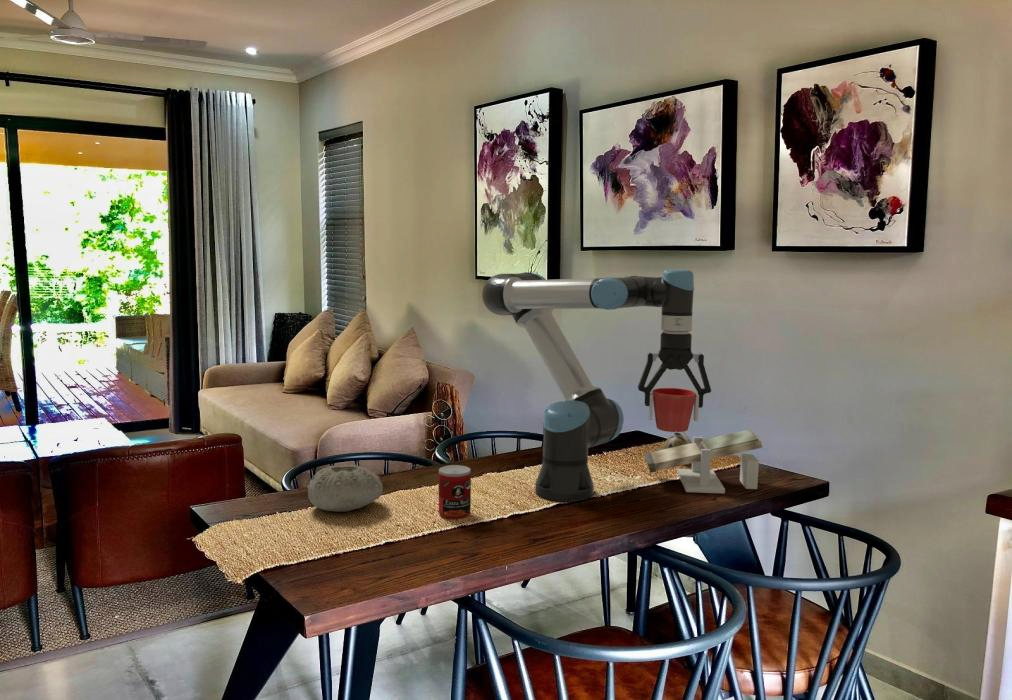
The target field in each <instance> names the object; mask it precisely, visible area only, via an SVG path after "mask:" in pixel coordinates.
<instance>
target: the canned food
mask: <svg viewBox="0 0 1012 700" xmlns="http://www.w3.org/2000/svg"><path fill="white" fill-rule="evenodd" d="M471 486H472V470H471V468H470V467H468V466H466V465H460V464H451V465H443V466H442V467H440V468H439V470H438V514H439V516H440V517H441V518H444V519H446V520H447V519H448V520H461V519H464V518H467V517H469V516H470V514H471V510H472V509H471V506H472V505H471V501H472V499H471V496H472V495H471V494H472V493H471V491H472V487H471Z"/></svg>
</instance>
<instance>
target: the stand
mask: <svg viewBox="0 0 1012 700" xmlns="http://www.w3.org/2000/svg"><path fill="white" fill-rule="evenodd" d="M703 440H704V438H703V436H692V443H695V442H697V441H703ZM711 461H712V459H711V449H701V461H699V462H695V463H691V468H690V469H688V468H677V470H676V471H677V472H678V473H677V472H676V473H677V475H679V476H678V478H679V480H680V482H681V484H682V486H683V488H684V491H685V493H701V494H702V493H705V494H725V493H726V488H725V487H724V485H723V483H722V482H721V481H720V478H719V477H718V476H717V474H716V473H715V471H714V469H711ZM759 463H760V461H759V460H758V458H757V457H756V456H755V455H754V454H753V453H751V452H750V453H746V452H740V467H739V469H740V470H739V471H740V472H739V481H740V483H741V484H742V486H743V487H744V488H745V489H746V490H747V489H748V490H758V483H759V466H760V465H759Z"/></svg>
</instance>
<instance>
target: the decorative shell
mask: <svg viewBox="0 0 1012 700" xmlns="http://www.w3.org/2000/svg"><path fill="white" fill-rule="evenodd" d="M380 479H381V477H380V476H379V475H378V474H376V473H375V472H374V471H373V470H372V469H369V468H367V467H365V466H364V467H363V466H360V465H359V466H358V465H357V464H348V465H342V466H339V465H330V466H326V467H324V468H321V469H320V470H318V471H317V472H316V473H315V474H314V475H313V476H312V478H311V479H310V481H309V483H308V485H307V487H306V489H307V493H308V494H307V496H308V499H309V501H310V503H311V504H312V505H313V506H314V507H316V508H317V509H320V510H322V511H323V510H324V511H327V512H339V513H340V512H343V513H344V512H350V511H353V510H357V509H361V508H363V507H365V506H368V505H369V504H372V503H373V502H374V501H376V500H379V498H380V497H381V496H382V494H383V488H384V485H383V483H382V481H381V480H380Z"/></svg>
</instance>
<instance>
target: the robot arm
mask: <svg viewBox="0 0 1012 700" xmlns="http://www.w3.org/2000/svg"><path fill="white" fill-rule="evenodd" d="M694 285H695V283H694V273H693V271H691V270H689V269H665V270H664V271H663V272H662V276H659V277H658V276H644V275H643V276H641V275H640V276H639V275H630V276H629V275H627V276H626V275H625V276H623V277H601V278H600V277H595V278H594V277H593V278H592V277H591V278H566V279H565V278H564V279H562V278H560V279H559V278H558V279H546V278H545V277H544V276H542V275H540V274H538V273H533V272H528V271H527V272H525V271H524V272H521V273H518V272H517V273H498V274H495V275H492V277H491V276H490V278H489V279H488V280H486V282H485V283H484V285H483V288H482V291H481V292H482V293H481V298H482V302H483V305H484V306H485V307H486V309H487V310H488V311H489V312H491V313H493V314H495V315H498V316H511V317H512V318H513V320H514V322H515V324H516V325H517V327H519V328H522V329H525V331H526V332H527V334H528V336H529V338H530V340H531V341H532V343H533V345H534V347H535V348H536V349H535V350H536V351H537V352H538V354H539V355H540V358H541V359H542V361H543V363H544V366H545V367H546V368H547V370H548V372H549V374H550V376H551V378H552V379H553V381H554V383H555V385H556V387H557V388H558V390H559V392H560V394H561V396H562V397H563V399H564V401H562V400H561V401H557V402H554V403H550V404H549V405H548V406H547V407H546V408H545V409H544V411H543V419H542V426H543V430H542V431H543V434H542V435H543V437H542V441H543V442H542V464H541V467H540V469H539V473H538V476H537V478H536V480H535V481H536V482H535V494H536V495H537V496H539V497H540V498H543V499H545V500H550V501H556V502H578V501H579V502H580V501H583V500H587V499H590V498H591V497H593V496H594V486H595V485H594V483H593V479H592V476H591V472H590V469H589V465H588V463H589V462H588V460H589V459H588V457H589V455H588V454H589V448H593V447H595V446H599V445H603V444H607V443H609V442H610V441H612V440H615V438H617V437H618V436H619V435H620V434H621V432H622V430H623V425H624V422H625V421H624V413H623V410H622V408H621V406H620V405H619V403H618V402H617V401H615V400H614V399H611V398H609V397H606V395H605V394H604V392H603V390H602V388H601V387H599V386H595V385H593V384H592V382H591V380H590V378H589V376H588V375H587V374H586V371H585V370H584V368H583V366H582V364H581V363H580V361H579V359H578V357H577V355H576V354H575V352H574V350H573V348H572V347H571V345H570V343H569V342H568V340H567V338H566V336H565V335H564V333H563V331H562V329H561V328H560V325H559V324H558V321H556V319H555V317H554V315H553V310H555V309H559V310H560V309H561V310H563V309H565V310H567V309H568V310H569V309H573V310H574V309H576V310H577V309H578V310H579V309H584V310H585V309H599V310H601V309H602V310H605V311H607V310H608V311H609V310H616V309H624V308H626V309H627V308H637V307H648V308H649V307H650V308H651V307H652V308H653V307H655V308H661V319H660V320H661V321H660V323H661V324H660V330H661V331H662V332H661V333H660V343H659V344H660V349H659V351H658V352H651V351H649V352H647V355H646V363H645V366H644V369H643V372H642V374H641V377H640V380H639V382H638V385H637V389H638V391H640V392H643V394H644V406H645V407H648V420H649V421H652V420H653V411H654V403H653V392H652V391H653V390H654V389H655V386H656V384H658V381H659V380H660V379H661V377H662V376H663V375H664V373H665V372H666V371H667V369H668V370H669V371H670V370H679V371H682V370H684V372H685V373H686V375H687V376H688V379H689V380H690V382H691V384H692V385H693V387H694V388H695V390H696V396H695V401H694V405H693V418H692V419H693V421H694V422H698V421H699V408H701V409H702V408H703V406H704V396H705V395H706V394H710V393H711V392H712V388H711V385H710V382H709V378H708V374H707V372H706V367H705V364H704V361H705V356H704V354H703V353H700V352H699V353H693V352H692V338H693V337H692V333H691V332H692V331H693V309H694V308H693V304H694V291H695V287H694ZM657 358H659V360H660V361H661V364H660V366H659V367H658V369H657V371H656V372H655V374H654V375H653V377H652V378H651V379H650V381H649V382H648V383H647V379H648V378H649V374H650V372H651V369H652V366H653V362H656V361H657ZM692 359H694V360H693V361H694V362H695V363H697V366H698V371H699V374H700V378H701V380H702V381H701V382H702V385H703V388H702V387H701V385H700V383H699V382H698V380H697V378H696V376H695V375H694V374H693V372H692V370H691V368H690V367H689V363H690V362H691V360H692ZM646 383H647V385H646ZM645 385H646V386H645Z"/></svg>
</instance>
